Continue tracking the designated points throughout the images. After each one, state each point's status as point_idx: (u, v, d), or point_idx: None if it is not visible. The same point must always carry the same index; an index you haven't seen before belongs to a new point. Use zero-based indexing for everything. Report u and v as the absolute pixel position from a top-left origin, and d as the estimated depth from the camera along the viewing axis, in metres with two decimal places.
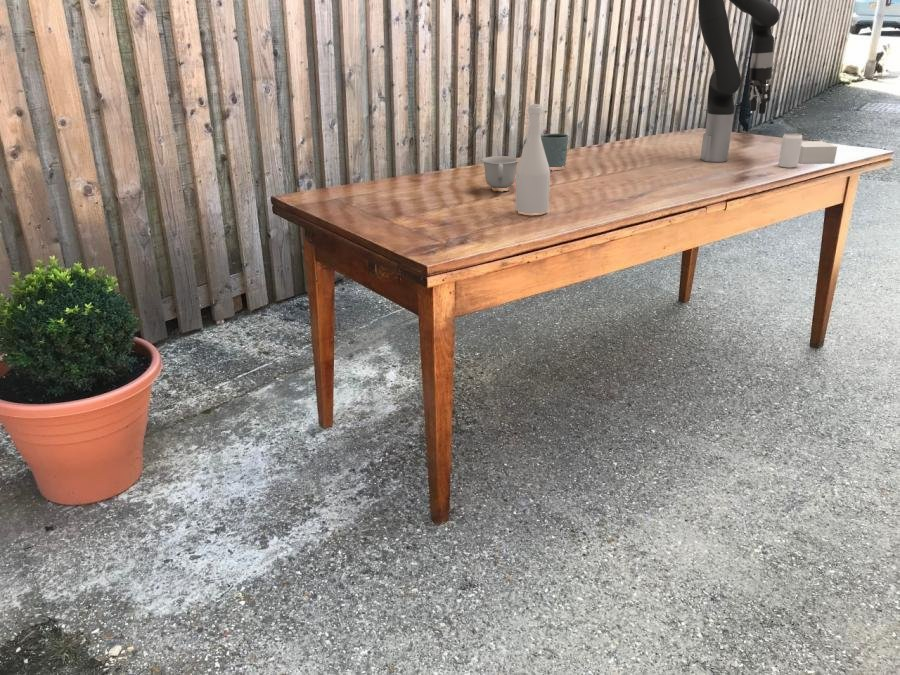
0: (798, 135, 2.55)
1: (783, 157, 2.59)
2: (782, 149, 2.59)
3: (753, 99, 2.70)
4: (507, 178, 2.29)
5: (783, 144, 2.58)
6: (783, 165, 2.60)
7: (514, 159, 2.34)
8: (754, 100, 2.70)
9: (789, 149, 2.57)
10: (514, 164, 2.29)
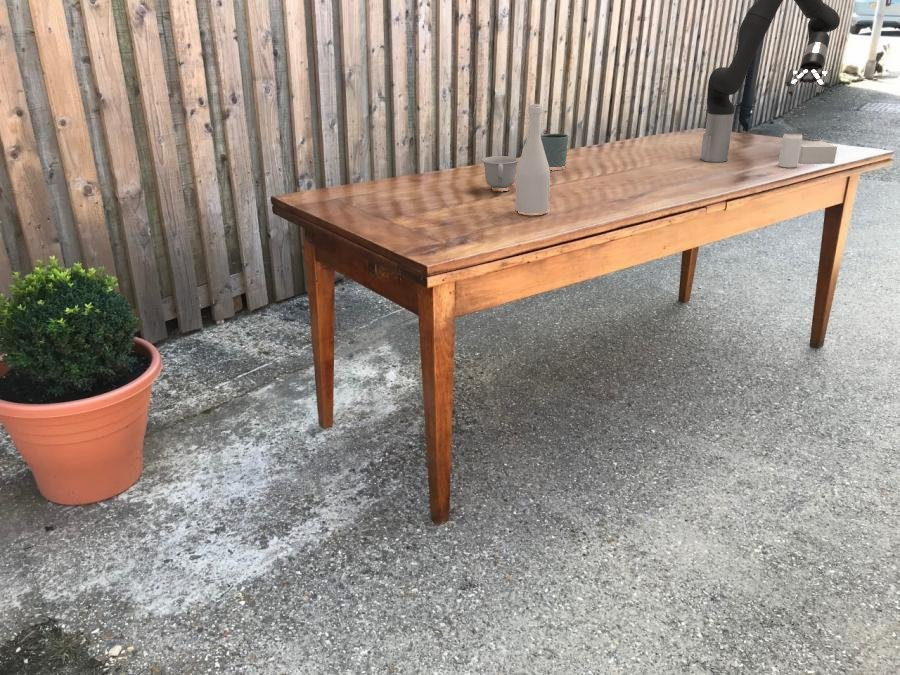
0: (798, 135, 2.55)
1: (783, 157, 2.59)
2: (782, 149, 2.59)
3: None
4: (507, 178, 2.29)
5: (783, 144, 2.58)
6: (783, 165, 2.60)
7: (514, 159, 2.34)
8: None
9: (789, 149, 2.57)
10: (514, 164, 2.29)
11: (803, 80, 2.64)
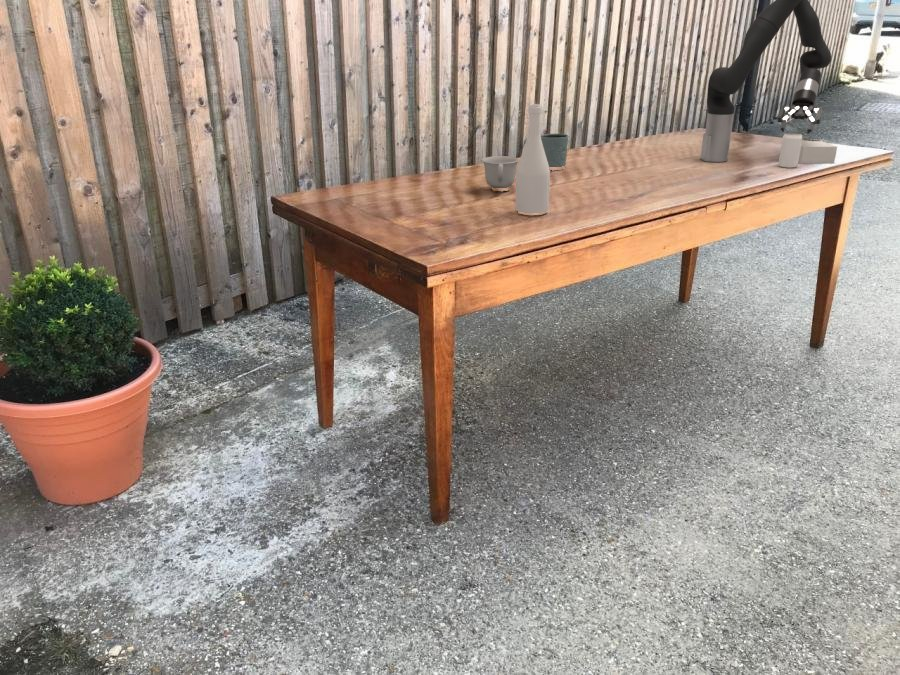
0: (798, 135, 2.55)
1: (783, 157, 2.59)
2: (782, 149, 2.59)
3: (786, 120, 2.65)
4: (507, 178, 2.29)
5: (783, 144, 2.58)
6: (783, 165, 2.60)
7: (514, 159, 2.34)
8: (785, 122, 2.65)
9: (789, 149, 2.57)
10: (514, 164, 2.29)
11: (795, 116, 2.64)
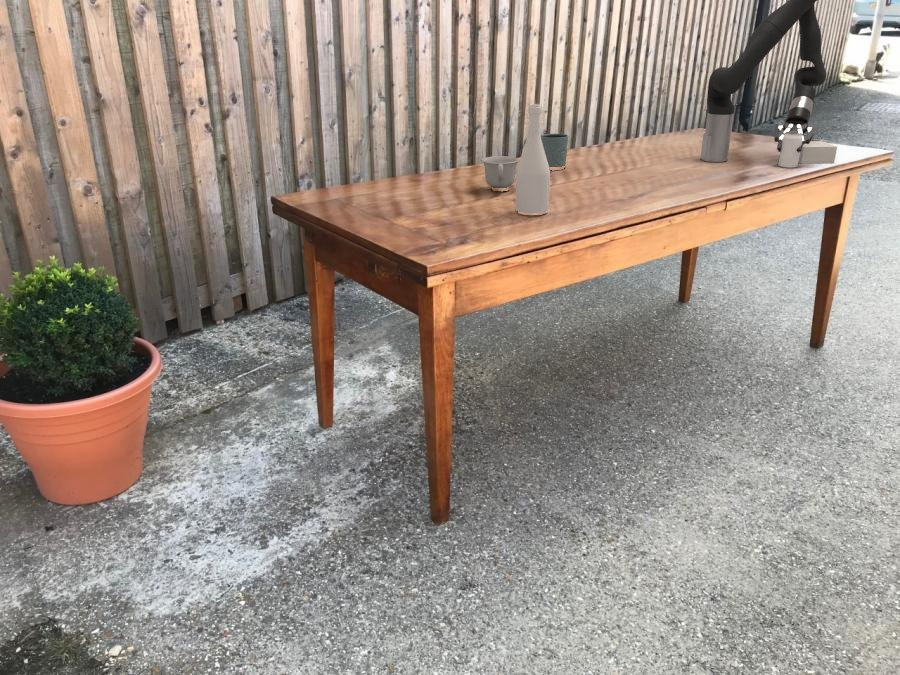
0: (798, 135, 2.55)
1: (783, 157, 2.59)
2: (782, 149, 2.59)
3: None
4: (507, 178, 2.29)
5: (783, 144, 2.58)
6: (783, 165, 2.60)
7: (514, 159, 2.34)
8: None
9: (790, 149, 2.57)
10: (514, 164, 2.29)
11: None
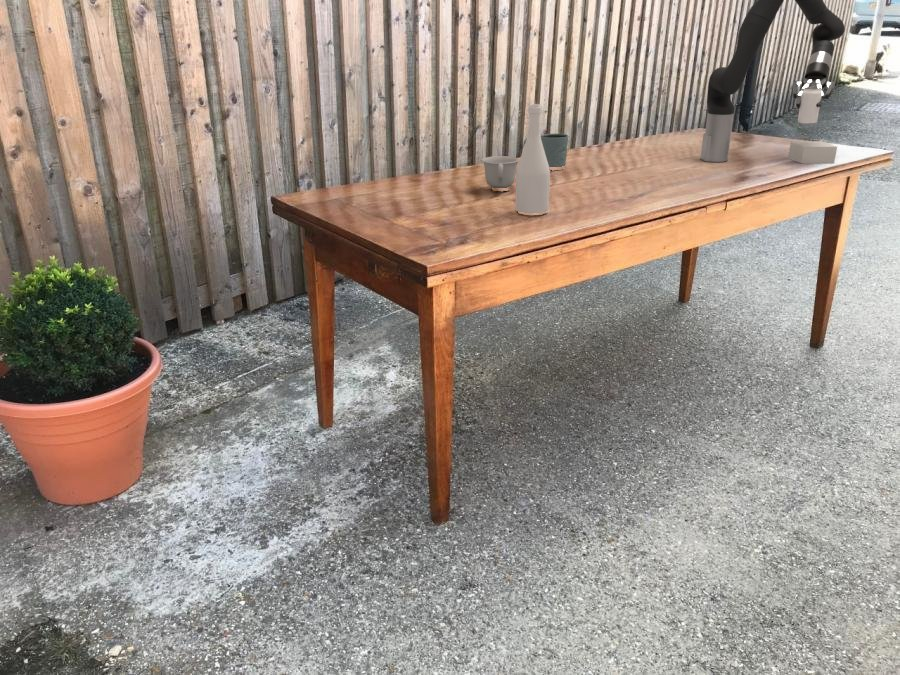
0: (818, 90, 2.53)
1: (803, 113, 2.57)
2: (801, 105, 2.57)
3: None
4: (507, 178, 2.29)
5: (802, 100, 2.56)
6: (803, 121, 2.58)
7: (514, 159, 2.34)
8: None
9: (809, 105, 2.55)
10: (514, 164, 2.29)
11: None
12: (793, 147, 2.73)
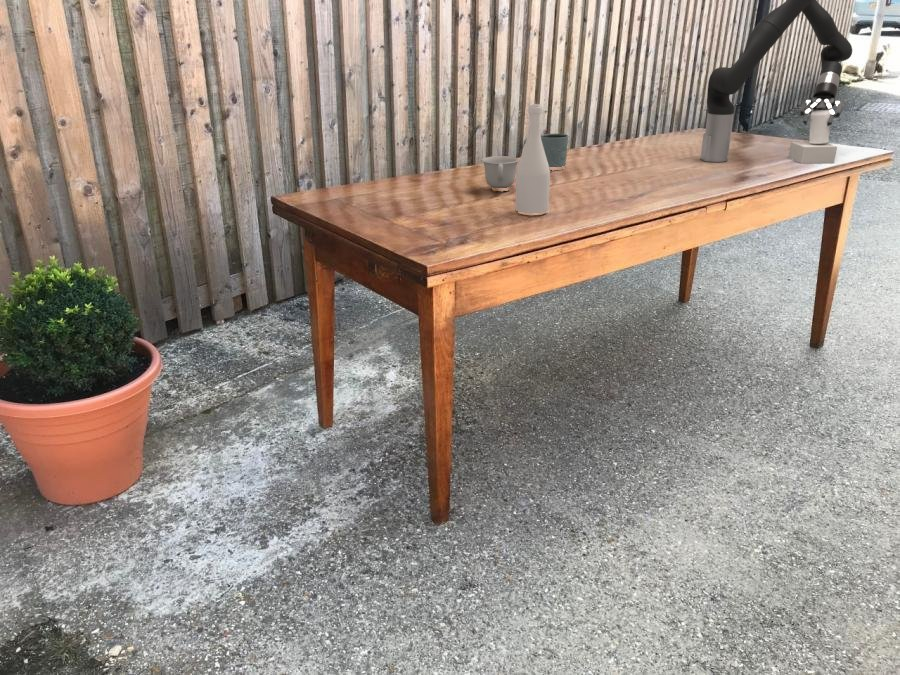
0: (825, 111, 2.62)
1: (813, 134, 2.66)
2: (811, 127, 2.66)
3: (808, 113, 2.68)
4: (507, 178, 2.29)
5: (812, 122, 2.66)
6: (814, 142, 2.67)
7: (514, 159, 2.34)
8: None
9: (818, 126, 2.64)
10: (514, 164, 2.29)
11: (817, 109, 2.67)
12: (793, 147, 2.73)
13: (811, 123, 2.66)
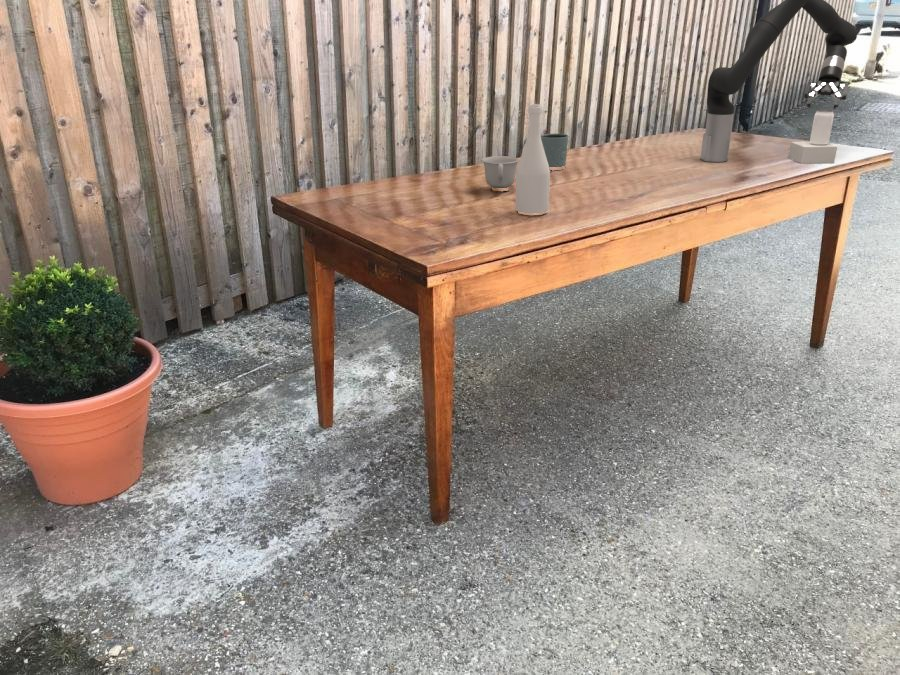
0: (830, 113, 2.62)
1: (815, 134, 2.66)
2: (814, 127, 2.66)
3: None
4: (507, 178, 2.29)
5: (815, 122, 2.65)
6: (814, 142, 2.67)
7: (514, 159, 2.34)
8: None
9: (821, 127, 2.64)
10: (514, 164, 2.29)
11: (821, 92, 2.69)
12: (793, 147, 2.73)
13: (814, 123, 2.66)
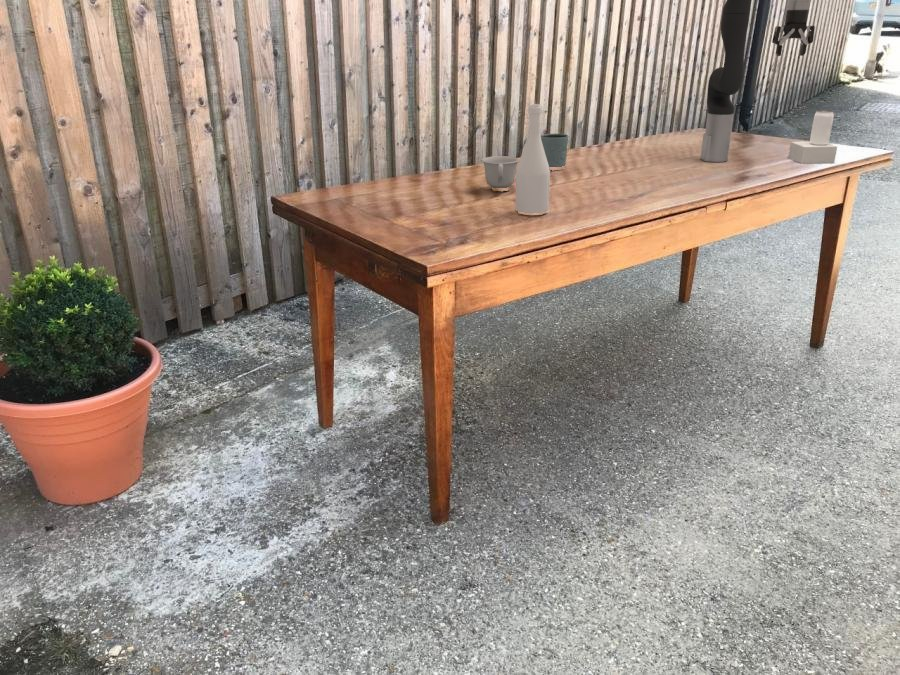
0: (829, 113, 2.62)
1: (814, 134, 2.66)
2: (813, 127, 2.66)
3: None
4: (507, 178, 2.29)
5: (815, 122, 2.65)
6: (814, 142, 2.67)
7: (514, 159, 2.34)
8: None
9: (821, 127, 2.64)
10: (514, 164, 2.29)
11: None
12: (793, 147, 2.73)
13: (814, 123, 2.66)
